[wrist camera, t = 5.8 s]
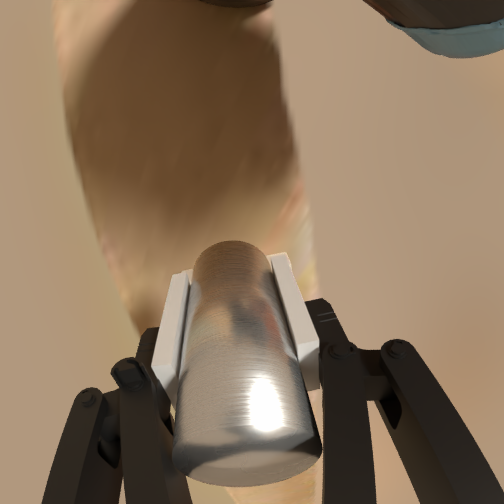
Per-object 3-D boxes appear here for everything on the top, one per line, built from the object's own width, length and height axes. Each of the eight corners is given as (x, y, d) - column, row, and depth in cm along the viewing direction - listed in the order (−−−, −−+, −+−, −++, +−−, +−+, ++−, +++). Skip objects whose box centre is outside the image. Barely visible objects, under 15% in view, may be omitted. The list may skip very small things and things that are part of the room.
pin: (221, 225, 16) (224, 406, 6) (287, 266, 18) (352, 441, 8) (178, 286, 17) (149, 468, 8) (242, 320, 19) (262, 492, 9)
